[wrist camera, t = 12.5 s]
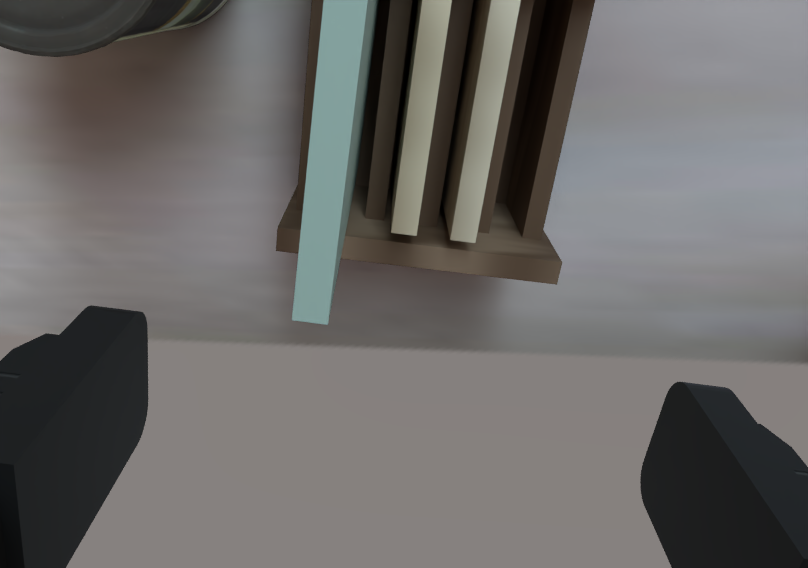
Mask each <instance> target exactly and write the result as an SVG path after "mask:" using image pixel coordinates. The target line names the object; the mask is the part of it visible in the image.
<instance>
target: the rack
mask: <svg viewBox="0 0 808 568" xmlns="http://www.w3.org/2000/svg"><path fill="white" fill-rule="evenodd" d="M323 2H324V0H312V5H311V19H310V32H309V45H308V59H307V72H306V85H305V99H304V112H303V126H302V139H301V152H300V166H299V179H298V185H297V187H296V190H295V192H294V194H293V196H292V198H291V200H290V202H289V204H288V207H287V209H286V211H285V213H284V215H283V217H282V219H281V222H280V224H279V226H278V230H277V245H276V251H282V252H290V253H299V243H300V233H301V223H302V213H303V203H304V193H305V183H306V173H307V163H308V153H309V143H310V133H311V122H312V112H313V102H314V92H315V82H316V72H317V62H318V52H319V42H320V32H321V22H322V12H323ZM594 3H595V0H521V2H520V7H519V13H518V18H517V23H516V29H515V34H514V39H513V45H512V50H511V55H510V61H509V66H508V71H507V77H506V82H505V87H504V93H503V98H502V103H501V109H500V114H499V120H498V125H497V130H496V136H495V141H494V146H493V152H492V157H491V162H490V168H489V173H488V178H487V184H486V189H485V194H484V200H483V205H482V210H481V216H480V221H479V226H478V232H477V237H476V242H475V243H470V242H462V241H454V240H450V236H449V232H448V227H447V222H446V217H445V213H444V208H443V203H442V191H443V185H444V179H445V173H446V167H447V160H448V154H449V148H450V142H451V136H452V130H453V123H454V117H455V111H456V105H457V99H458V92H459V86H460V80H461V74H462V68H463V61H464V55H465V49H466V43H467V37H468V30H469V24H470V18H471V12H472V6H473V0H452V3H451V10H450V16H449V23H448V30H447V36H446V43H445V50H444V56H443V63H442V70H441V76H440V83H439V90H438V96H437V103H436V110H435V116H434V123H433V130H432V136H431V143H430V150H429V156H428V163H427V170H426V176H425V183H424V190H423V196H422V203H421V210H420V216H419V223H418V230H417V236H413V235H405V234H397V233H391V211H392V173H393V165H394V158H395V150H396V142H397V135H398V127H399V119H400V112H401V104H402V96H403V89H404V81H405V73H406V65H407V58H408V50H409V42H410V35H411V27H412V19H413V12H414V4H415V0H380V1H379V9H378V17H377V24H376V32H375V40H374V48H373V55H372V63H371V71H370V78H369V86H368V94H367V102H366V109H365V117H364V125H363V133H362V140H361V148H360V156H359V163H358V171H357V176H356V182H355V187H354V192H353V197H352V202H351V208H350V213H349V218H348V223H347V228H346V233H345V239H344V244H343V249H342V254H341V259H349V260H357V261H365V262H374V263H382V264H390V265H399V266H407V267H415V268H424V269H432V270H440V271H449V272H457V273H466V274H474V275H482V276H491V277H499V278H507V279H516V280H524V281H532V282H541V283H549V284H557V282H558V278H559V274H560V269H561V265H562V261H561V259H560V258H559V256H558V254H557V253H556V251H555V249H554V247H553V246H552V244H551V242H550V241H549V239H548V237H547V236H546V234H545V232H544V230H543V228H544V223H545V219H546V214H547V210H548V205H549V201H550V197H551V192H552V188H553V183H554V179H555V175H556V170H557V166H558V161H559V157H560V153H561V148H562V144H563V139H564V135H565V131H566V126H567V122H568V117H569V113H570V109H571V104H572V100H573V95H574V91H575V86H576V82H577V78H578V73H579V69H580V64H581V60H582V56H583V51H584V47H585V42H586V38H587V34H588V29H589V25H590V20H591V16H592V12H593V7H594Z"/></svg>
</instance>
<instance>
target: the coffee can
mask: <svg viewBox="0 0 808 568" xmlns="http://www.w3.org/2000/svg"><path fill="white" fill-rule="evenodd" d="M226 2H227V0H0V46H1V47H4V48H7V49H10V50H13V51H18V52H21V53H24V54H30V55H37V56H51V57H60V56H70V55H78V54H82V53H86V52H89V51H92V50H95V49H98V48H101V47H104V46H106V45H108V44H110V43H112V42H116V41H121V40H125V39H130V38H135V37H139V36H144V35H149V34H153V33H158V32H162V31H167V30H177V29H183V28H187V27H190V26H192V25H197V24H199V23H201V22H202V21H204V20H206V19H207V18H209V17H210V16H212V15H213V14H214V13H216V12H217V11H218V10H219V9H220V8H221V7H222V6H223V5H224V4H225V3H226Z"/></svg>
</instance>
